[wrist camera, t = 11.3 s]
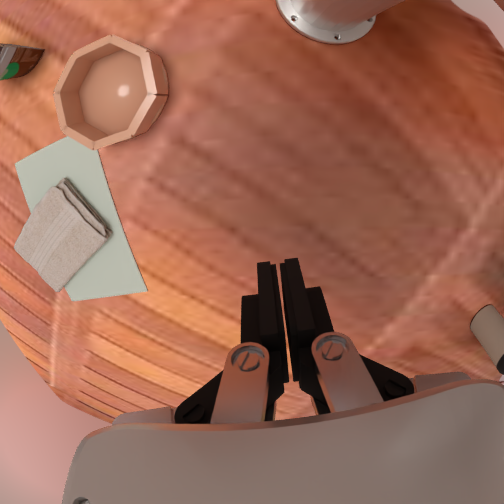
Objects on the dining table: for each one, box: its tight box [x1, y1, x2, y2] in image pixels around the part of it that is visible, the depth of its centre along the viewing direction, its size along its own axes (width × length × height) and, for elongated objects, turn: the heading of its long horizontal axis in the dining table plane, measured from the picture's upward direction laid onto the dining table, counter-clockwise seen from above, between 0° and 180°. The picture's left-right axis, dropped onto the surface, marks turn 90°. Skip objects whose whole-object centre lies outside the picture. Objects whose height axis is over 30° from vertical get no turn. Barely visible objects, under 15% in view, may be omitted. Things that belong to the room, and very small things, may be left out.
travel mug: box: [470, 305, 504, 375], centre depth 43 cm, size 8×8×18 cm
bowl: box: [53, 35, 169, 151], centre depth 27 cm, size 13×13×6 cm
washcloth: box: [14, 178, 112, 292], centre depth 37 cm, size 12×18×3 cm, turn 128°
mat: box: [15, 136, 148, 301], centre depth 38 cm, size 26×16×1 cm, turn 10°
